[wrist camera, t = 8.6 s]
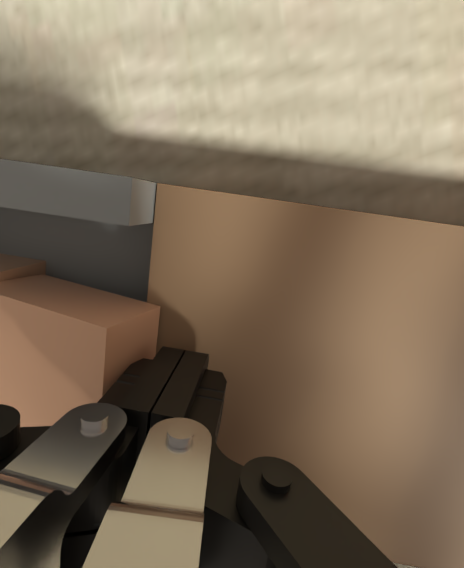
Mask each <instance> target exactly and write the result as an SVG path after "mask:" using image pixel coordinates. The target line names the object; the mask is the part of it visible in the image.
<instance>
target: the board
mask: <svg viewBox="0 0 464 568" xmlns="http://www.w3.org/2000/svg"><path fill="white" fill-rule="evenodd" d="M147 303H150V304H154V305H158V306H161V307H160V316H159V326H158V336H157V345H156V354H157V353H158V352H159V350H160V349H161V348H162V346H165V347H171V348H177V349H183V350H189V351H194V352H200V353H206V354H209V363H208V370H213V371H219V372H222V373H223V375H224V377H225V379H226V381H227V384H226V391H225V397H224V404H223V410H222V417H221V423H220V428H219V433H218V438H217V443H216V444H217V446H218V448H219V449H220V450H221V452H222V453H223V454H224V455H225V456H227V457H228V458H229V459H231V460H233V461H234V462H236V463H238V464H241V465H243V466H244V465H245V464H246V463H247V462H248V461H250V460H252V459H254V458H257V457H263V456H270V457H276V458H280V459H283V460H285V461H288V462H290V463H291V464H293V465H294V466H296V467H297V468H298V469H300V470H301V471H302V472H303V473H304V474H305V475H306V476H307V477H308V478H309V479H310V480H311V481H312V482H313V483H314V484H315V485H316V486H317V487H318V488H319V489H320V490H321V491H322V492H323V493H324V494H325V495H326V496H327V497H328V498H329V499H330V500H331V501H332V502H333V503H334V504H335V505H336V506H337V507H338V508H339V509H340V510H341V511H342V512H343V513H344V514H345V515H346V516H347V517H348V518H349V519H350V520H351V521H352V522H353V523H354V524H355V526H356V527H357V528H358V529H359V530H360V531H361V532H362V533H363V534H364V535H365V536H366V537H367V538H368V539H369V540H370V541H371V542H372V543H373V544H374V545H375V546H376V547H377V548H378V549H379V550H380V551H381V552H382V553H383V554H384V555H385V556H386V557H387V558H388V559H389V560H390V561H391V562H394V563H399V564H404V565H409V566H414V567H420V568H464V227H463V226H456V225H449V224H442V223H435V222H428V221H421V220H414V219H407V218H400V217H393V216H386V215H379V214H372V213H365V212H358V211H351V210H344V209H337V208H330V207H323V206H316V205H309V204H302V203H295V202H288V201H280V200H273V199H266V198H259V197H252V196H245V195H238V194H231V193H224V192H217V191H210V190H203V189H196V188H189V187H182V186H175V185H168V184H161V183H157V192H156V204H155V215H154V227H153V238H152V249H151V261H150V272H149V284H148V295H147ZM155 356H156V355H155Z"/></svg>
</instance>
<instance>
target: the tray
mask: <svg viewBox="0 0 464 568" xmlns="http://www.w3.org/2000/svg"><path fill="white" fill-rule="evenodd" d="M156 192H157V183H155V182H150V181H146V180H142V179H137V178H133V177H126V176H119V175H112V174H105V173H98V172H91V171H84V170H77V169H70V168H63V167H56V166H49V165H42V164H35V163H28V162H21V161H14V160H7V159H0V253H1V254H7V255H13V256H19V257H25V258H31V259H38V260H44V261H46V275H48V276H52V277H55V278H59V279H63V280H66V281H70V282H74V283H77V284H81V285H85V286H88V287H92V288H96V289H99V290H103V291H107V292H110V293H114V294H118V295H121V296H125V297H129V298H132V299H136V300H139V301H143V302H147V295H148V284H149V272H150V261H151V249H152V238H153V227H154V215H155V204H156Z"/></svg>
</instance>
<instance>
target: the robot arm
mask: <svg viewBox="0 0 464 568" xmlns="http://www.w3.org/2000/svg"><path fill="white" fill-rule="evenodd" d="M208 363H209V354H206V353H200V352H194V351H189V350H183V349H177V348H171V347H165V346H162V348H161V349H160V350H159V352H158V353H157V354H156V356H155V357H154V358H153V360H151V359H145V358H142V359H140V360H138V361H136V362H134V363H132V364H130V365H129V367H128V368H127V369H126V370H125V371H124V372H123V375H121V376H120V377H119V378H118V379H117V381H116V382H115V383H114V384H113V385H112V386H111V387H110V388H109V390H108V391H107V392H106V393H105V394H104V395H103V396H102V398H101V399H100V400H99V401H98V402H97V403H89V404H84V405H81V406H78V407H76V408H73V409H72V410H70V411H68V412H67V413H66V414H65V415H64V416H62V417H61V418H60V419H59V420H58V421H57V422H56V423H55V424H53V425H52V426H37V427H20V413H19V411H18V410H17V409H15V408H14V407H11V406H9V405H4V404H0V568H397V567H396V566H395V565H394V564H393V563H392V562H391V561H390V560H389V559H388V558H387V557H386V556H385V555H384V554H383V553H382V552H381V551H380V550H379V549H378V548H377V547H376V546H375V545H374V544H373V543H372V542H371V541H370V540H369V539H368V538H367V537H366V536H365V535H364V534H363V533H362V532H361V531H360V530H359V529H358V528H357V527H356V526H355V524H354V523H353V522H352V521H351V520H350V519H349V518H348V517H347V516H346V515H345V514H344V513H343V512H342V511H341V510H340V509H339V508H338V507H337V506H336V505H335V504H334V503H333V502H332V501H331V500H330V499H329V498H328V497H327V496H326V495H325V494H324V493H323V492H322V491H321V490H320V489H319V488H318V487H317V486H316V485H315V484H314V483H313V482H312V481H311V480H310V479H309V478H308V477H307V476H306V475H305V474H304V473H303V472H302V471H301V470H300V469H298V468H297V467H296V466H294V465H293V464H291V463H290V462H288V461H285V460H283V459H280V458H276V457H270V456H263V457H257V458H254V459H252V460H250V461H248V462H247V463H246V464H245V465H244V466H243V465H241V464H238V463H236V462H234V461H233V460H231V459H229V458H228V457H227V456H225V455H224V454H223V453H222V452H221V450H220V449H219V448H218V446H217V444H216V443H217V438H218V433H219V428H220V423H221V417H222V410H223V404H224V397H225V391H226V384H227V381H226V379H225V377H224V375H223V373H222V372H219V371H213V370H208Z"/></svg>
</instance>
